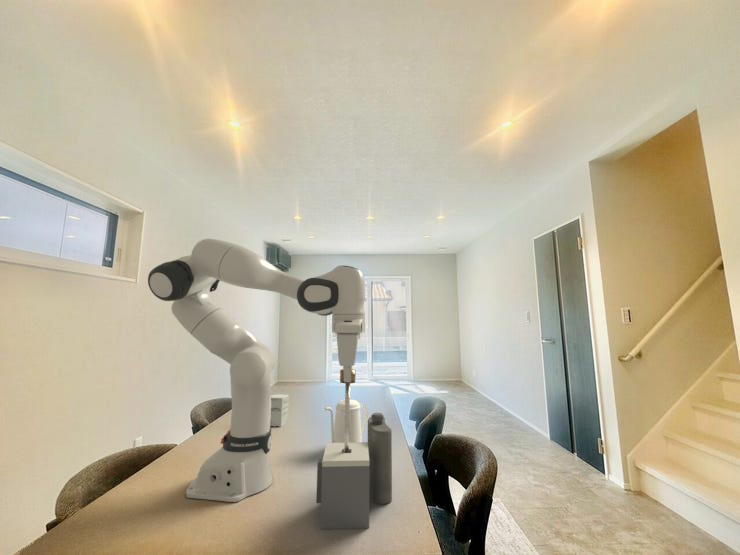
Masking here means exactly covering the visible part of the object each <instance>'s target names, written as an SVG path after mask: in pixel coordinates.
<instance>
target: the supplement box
mask: <svg viewBox="0 0 740 555" xmlns="http://www.w3.org/2000/svg"><path fill="white" fill-rule="evenodd" d="M289 398H290V395H289V394H279V393H276V394H275V393H274V394H271V418H270V427H276V426H279V427H280V428H282V427H283V426H285V425H286V424H287V423H288V418H289V417H288V416H289V404H290V403H289V402H290V401H289V400H290V399H289ZM286 422H287V423H286ZM285 423H286V424H285ZM282 425H283V426H282ZM281 426H282V427H281ZM279 427H278V428H279Z"/></svg>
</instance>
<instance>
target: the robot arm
mask: <svg viewBox="0 0 740 555" xmlns="http://www.w3.org/2000/svg"><path fill="white" fill-rule="evenodd" d="M148 273H149V274H148V275H147V284H148V285H147V286H148V287H149V290H150V291H151V293H152V294H153V296H155V297H156V298H157V299H159V300H161V301H164V302H172V301H173V302H172V304H171V312H172V314H173V316H174V318H175V319H176V320H177V321H178V322H179V324H180V325H181V327H183V328H184V329H185V330H186V331H187V333H189V334H190V335H191V336H192V337H193V338H194V339H196V340H197V341H198V342H199V343H200V344H201V345H202V346H203V347H204V348H205V349H207V350H208V351H209V352H210V353H211V354H212V355H215V356H217V357H219V359H222V360H223V361H225V362H226V363H228V364H229V365H230V367H229V376H230V395H231V397H230V398H231V413H230V414H231V416H230V429H229V430H227V431H226V434H224V435H223V437H222V438H221V439H220V444H221V445H222V447H220V448H219V449H218V450H216V452H215V453H213V454H212V455H210V456H209V457H208V458H207V459H205V461H204V462H203V463H202V465H201V466H200V468H199V471H198V473H197V476H196V478H194V480H192V482H190V484H189V485H188V486H187V488H186V492H185V497H186V498H188V499H189V498H190V499H197V500H198V499H199V500H209V501H210V500H211V501H220V502H229V503H237V502H240V501H242V500H244V499H245V498H247V497H250V496H252V495H255V494H258V493H261V492H263V491H264V490H266V489H267V488H269V487H270V486H271V484H273V481H274V476H273V473H272V467H271V456H270V455H271V452H270V451H271V447H272V437H273V436H272V428H271V426H270V418H271V396H272V371H273V370H274V367H275V365H276V357H275V353H274V352H273V350H272V349H271V348H270V347H268V345H266V344H265V343H264V342H262V341H261V340H260V339H259V338H258V337H257V336H255V335H253V334H252V333H251V332H250V331H248V329H246V328H244V327H243V326H242V325H241V324H240V323H239V322H238V321H237V320H235V319H234V318H233V317H232V316H231V315H230V314H229V313H228V312H226V311H225V310H224V309H223V308H222V307H221V306H220V305H219V304H218V303H216V302H215V301H214V300H213V299H212V297H211V294H210V292H211V293H212V292H214V291H217V288H218V285H219V283H220V282H222V283H226V284H228V285H231V286H235V287H240V288H244V289H253V290H259V291H260V290H262V291H267V292H268V291H269V292H274V293H278V294H280V295H283V296H286V297H289V298H292V299H294V300H297V303H298V304H299V306H300V307H301V308H302V309H303V310H305V311H306V312H309V313H311V314H317V315H318V316H322V317H327V316H331V315H332V316H331V318H332V319H331V332H332V333H334V334H336V337H335V338H336V344H337V355H338V356H337V357H338V364H339V366H340V367H342V368H343V371H344V382H350V381H351V370H352V369H353V367H354V366H355V363H356V359H357V358H356V357H357V350H358V341H359V340H360V339H361V334H363V333H365V332H366V312H365V308H364V306H365V302H366V283H365V277H364V274H363V272H362V271H361V270H360V269H359V268H358V267H357V268H356V267H354V266H350V265H337V266H336V267H335V268H333V269H332V270H330V271H328V272H326V273H324V274H322V275H318V276H314V277H310V278H309V277H308V278H306V279H301V278H299V277H296V276H294V275H290V274H288V273H286V272H284V271H282V270H281V269H279V268H277V267H276V266H274V265H273V264H271V263H270V262H269V261H268V260H266V259H265V258H263V257H262V256H261V255H259V254H257V253H255V252H254V251H253V250H250V249H248V248H245V247H244V246H242V245H241V246H240V244H239V245H238V244H236V243H232V242H228V241H225V240H222V239H221V240H220V239H214V238H205V239H201V240H199V241H198V242H197V243H196V244H195V245H194V247H193V248H192V251H191V255H186V256H182V257H179V258H176V259H173V260H171V261H166V262H163V263H161V264H159V265H157V266H155V267H153V269H151V270H150V272H148Z"/></svg>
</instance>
